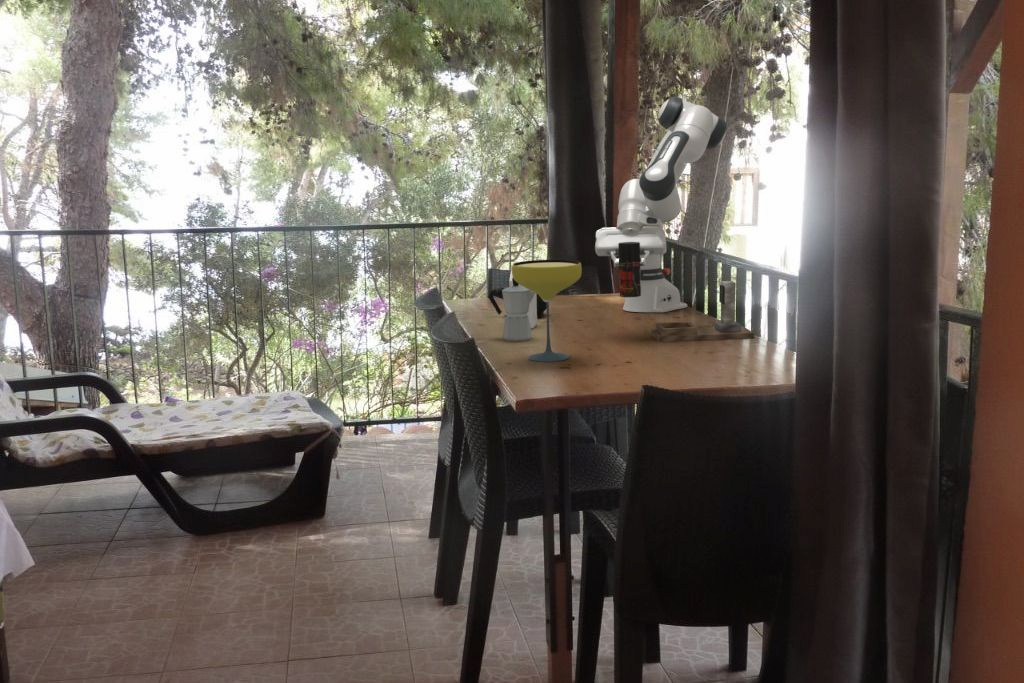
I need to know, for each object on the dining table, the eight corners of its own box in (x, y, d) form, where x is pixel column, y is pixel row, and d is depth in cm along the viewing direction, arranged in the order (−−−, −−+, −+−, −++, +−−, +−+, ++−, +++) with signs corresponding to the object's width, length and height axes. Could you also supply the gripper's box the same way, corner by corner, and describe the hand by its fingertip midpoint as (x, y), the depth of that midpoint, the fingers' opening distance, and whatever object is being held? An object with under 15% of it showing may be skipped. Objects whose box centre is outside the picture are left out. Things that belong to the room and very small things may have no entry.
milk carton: (533, 329, 297) (531, 267, 294) (510, 328, 299) (508, 267, 295) (537, 325, 304) (535, 264, 301) (515, 324, 306) (513, 265, 302)
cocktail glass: (587, 363, 247) (586, 265, 242) (517, 366, 245) (514, 268, 241) (577, 349, 264) (576, 258, 260) (511, 352, 263) (509, 260, 258)
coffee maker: (542, 336, 285) (541, 275, 281) (533, 342, 277) (531, 279, 273) (495, 334, 290) (493, 275, 286) (484, 340, 281) (482, 279, 278)
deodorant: (617, 295, 277) (615, 242, 274) (637, 293, 278) (636, 241, 275) (623, 297, 271) (621, 244, 268) (643, 296, 272) (642, 243, 269)
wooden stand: (658, 341, 272) (658, 287, 269) (651, 334, 283) (651, 282, 280) (753, 338, 273) (754, 283, 270) (743, 331, 284) (743, 278, 281)
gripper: (595, 221, 279) (591, 259, 272) (666, 219, 275) (665, 257, 267) (597, 235, 284) (594, 272, 277) (667, 233, 280) (666, 271, 273)
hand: (629, 265), depth 272 cm, fingers closed on deodorant, 6 cm apart
